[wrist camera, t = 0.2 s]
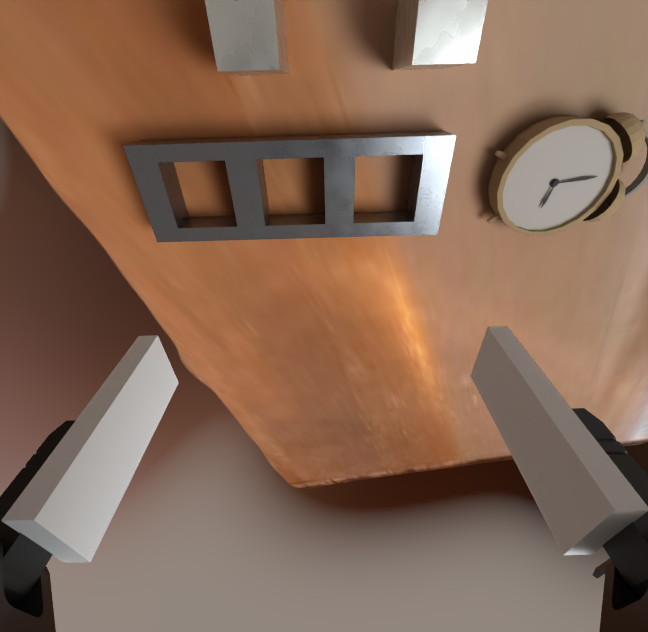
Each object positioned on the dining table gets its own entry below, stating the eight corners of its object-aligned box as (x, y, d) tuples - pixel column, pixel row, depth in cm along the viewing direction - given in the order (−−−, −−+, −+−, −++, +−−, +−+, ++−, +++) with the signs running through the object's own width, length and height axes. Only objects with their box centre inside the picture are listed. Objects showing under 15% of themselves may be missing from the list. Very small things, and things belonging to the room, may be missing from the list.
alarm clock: (501, 132, 29) (704, 97, 26) (489, 125, 33) (664, 94, 30) (487, 243, 36) (647, 228, 32) (478, 227, 40) (620, 212, 36)
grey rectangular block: (231, 8, 26) (201, -18, 20) (284, 6, 26) (272, -21, 20) (240, 75, 29) (217, 71, 23) (289, 73, 29) (279, 69, 23)
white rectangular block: (397, 2, 26) (421, -27, 20) (451, 0, 26) (493, -29, 20) (392, 70, 29) (412, 65, 22) (441, 68, 29) (475, 62, 22)
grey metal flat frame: (140, 140, 32) (122, 145, 29) (444, 131, 32) (456, 135, 29) (169, 230, 38) (157, 242, 35) (428, 223, 37) (437, 234, 34)
